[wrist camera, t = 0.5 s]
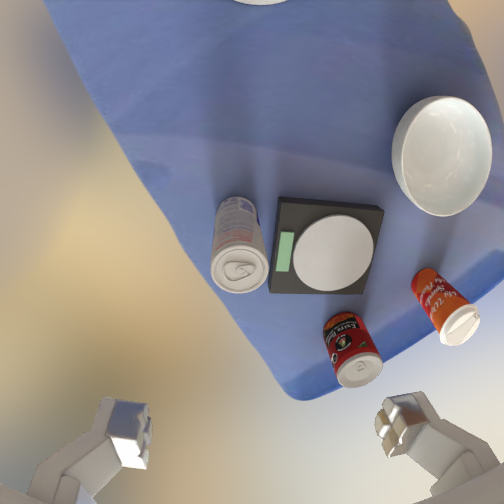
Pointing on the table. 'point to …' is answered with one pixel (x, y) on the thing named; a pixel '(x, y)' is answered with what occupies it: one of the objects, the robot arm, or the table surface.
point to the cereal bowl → (442, 154)
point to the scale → (323, 246)
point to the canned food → (351, 350)
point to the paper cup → (445, 307)
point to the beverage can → (238, 247)
